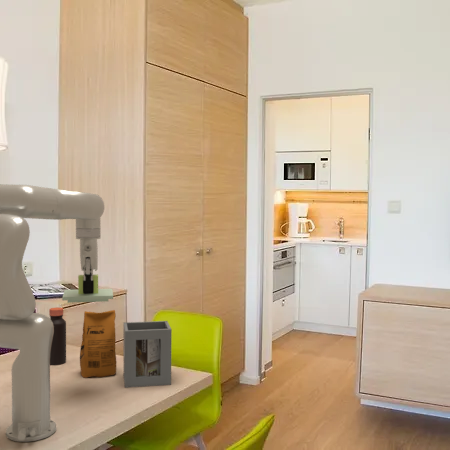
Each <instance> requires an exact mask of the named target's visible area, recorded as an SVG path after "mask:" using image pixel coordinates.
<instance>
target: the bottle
mask: <svg viewBox="0 0 450 450" xmlns="http://www.w3.org/2000/svg"><path fill="white" fill-rule="evenodd" d="M48 315H49V318H50V319H51V321H52V322H53V326H54V333H53V339H52V344H51V351H50V366H57V365H59V366H60V365H63V364H65V363H66V362H67V321H66V320H65V319H64V318H63V316H64V308H63V307H50V308H49V314H48Z"/></svg>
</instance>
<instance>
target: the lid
mask: <svg viewBox="0 0 450 450" xmlns="http://www.w3.org/2000/svg"><path fill="white" fill-rule="evenodd" d="M77 278H78V280H77V281H78V282H77V283H78V285H77V286H78V287H77V288H78V289H64V290H63V295H62V299H61V300H62V301H67V303H68V304H69V303H70V304H71V303H95V302H97V303H98V302H99V303H100V302H102V303H103V302H104V303H105V302H109V300H113V299H114V292H113V291H114V290H113V288H99V274H96V273H95V274H93V280H94V293H88V294H84V293H83V281H84V274H78V276H77ZM85 281H86V280H85Z"/></svg>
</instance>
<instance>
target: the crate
mask: <svg viewBox="0 0 450 450" xmlns="http://www.w3.org/2000/svg"><path fill="white" fill-rule="evenodd" d="M143 329H148V330H143ZM147 339H160V375H159V376H149V377H147V376H142V377H136V340H147ZM122 347H123V353H122V355H123V356H122V357H123V361H122V362H123V364H122V365H123V367H122V368H123V372H122V373H123V383H124V388H139V387H154V386H170V385H172V328H171V326H170V323H169V322H168V320H157V321H156V320H155V321H134V322H133V321H129V322H128V321H127V322H126V321H125V322H123V346H122Z"/></svg>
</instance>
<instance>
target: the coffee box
mask: <svg viewBox="0 0 450 450" xmlns="http://www.w3.org/2000/svg"><path fill="white" fill-rule="evenodd" d="M143 330H148V329H143ZM159 375H160V339H147V340H136V377H142V376H147V377H149V376H159Z"/></svg>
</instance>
